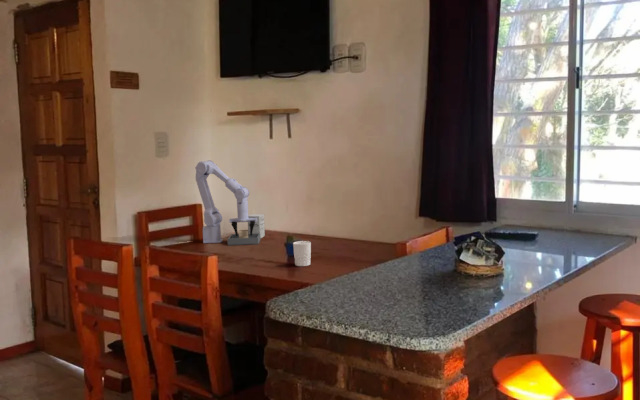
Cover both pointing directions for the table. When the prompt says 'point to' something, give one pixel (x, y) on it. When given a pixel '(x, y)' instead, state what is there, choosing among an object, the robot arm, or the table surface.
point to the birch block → (243, 234)
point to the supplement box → (257, 224)
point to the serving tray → (244, 239)
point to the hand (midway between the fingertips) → (244, 235)
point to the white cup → (302, 253)
